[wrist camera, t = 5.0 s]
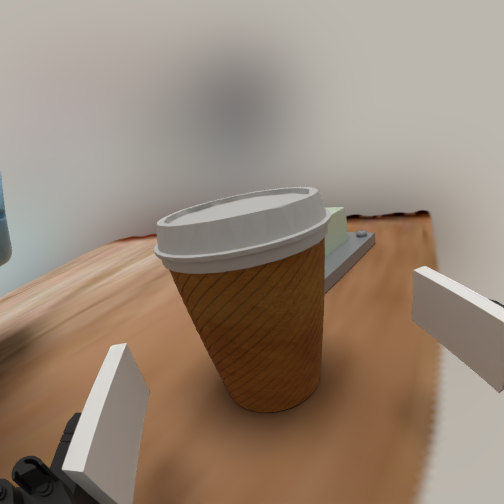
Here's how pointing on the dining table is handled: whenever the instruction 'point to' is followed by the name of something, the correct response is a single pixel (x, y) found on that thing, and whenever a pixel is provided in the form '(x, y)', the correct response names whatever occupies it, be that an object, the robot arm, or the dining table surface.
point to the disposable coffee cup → (254, 289)
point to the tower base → (343, 247)
